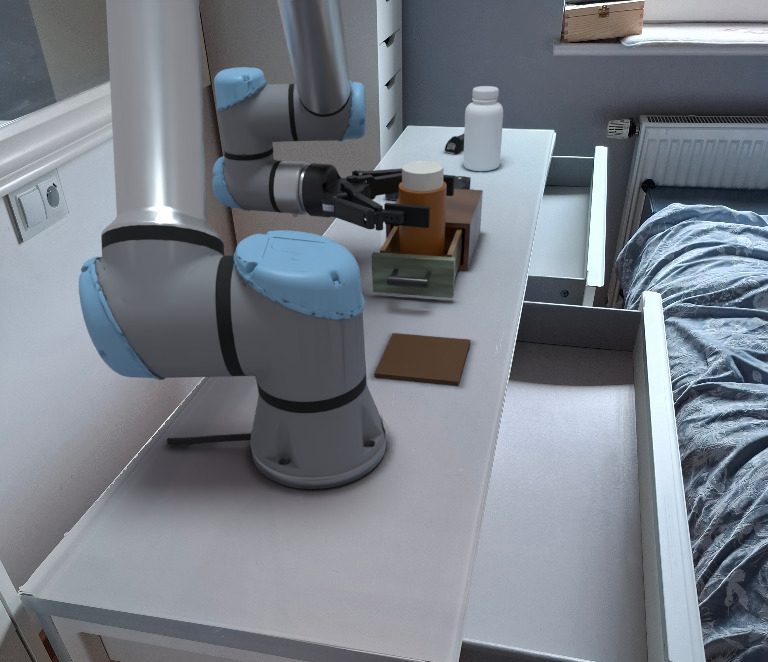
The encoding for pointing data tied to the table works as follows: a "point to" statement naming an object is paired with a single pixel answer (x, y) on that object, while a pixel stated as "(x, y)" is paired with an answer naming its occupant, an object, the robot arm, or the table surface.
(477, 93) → the pill bottle
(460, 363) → the mat
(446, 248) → the drawer
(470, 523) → the table surface
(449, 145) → the electric trimmer
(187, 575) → the table surface
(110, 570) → the table surface
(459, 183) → the disk drive
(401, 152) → the table surface
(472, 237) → the cabinet
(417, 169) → the pill bottle
